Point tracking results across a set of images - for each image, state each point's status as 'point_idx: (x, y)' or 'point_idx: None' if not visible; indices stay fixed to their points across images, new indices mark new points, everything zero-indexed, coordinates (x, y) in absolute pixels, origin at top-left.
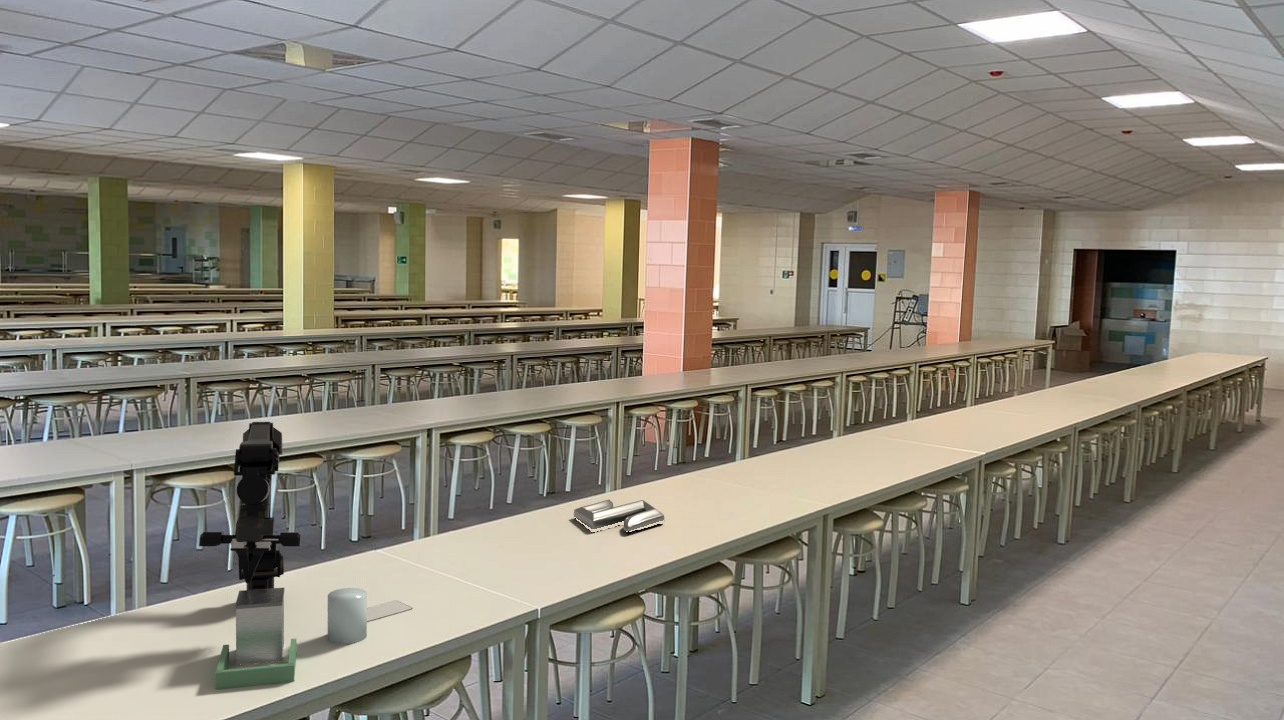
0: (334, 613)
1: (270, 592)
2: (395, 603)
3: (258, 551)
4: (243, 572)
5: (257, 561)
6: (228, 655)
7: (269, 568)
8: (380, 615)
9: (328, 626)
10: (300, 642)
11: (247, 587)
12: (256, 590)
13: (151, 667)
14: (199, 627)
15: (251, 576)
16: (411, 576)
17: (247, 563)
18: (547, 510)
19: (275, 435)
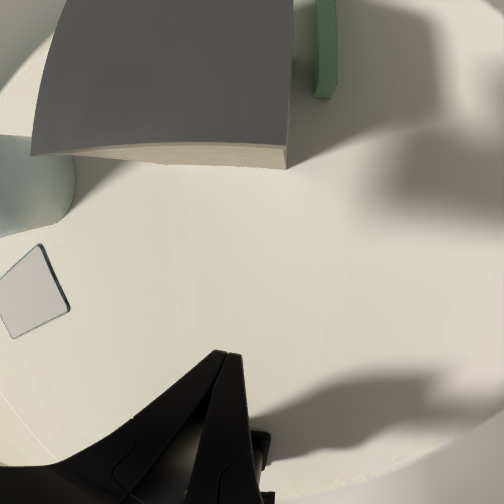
0: (11, 142)
1: (88, 73)
2: (9, 325)
3: (22, 497)
4: (245, 409)
5: (100, 445)
6: (316, 75)
7: (184, 495)
8: (13, 279)
9: (50, 166)
10: (127, 170)
11: (257, 475)
12: (157, 118)
13: (481, 136)
14: (380, 362)
15: (193, 374)
16: (29, 413)
17: (194, 467)
18: (6, 463)
19: None
